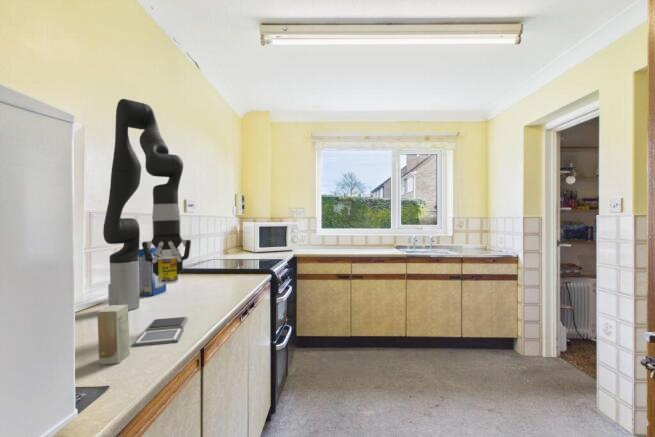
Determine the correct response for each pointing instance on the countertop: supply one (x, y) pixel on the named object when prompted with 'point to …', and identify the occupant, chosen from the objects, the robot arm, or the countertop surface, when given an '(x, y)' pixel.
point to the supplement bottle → (167, 267)
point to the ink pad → (167, 324)
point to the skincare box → (113, 334)
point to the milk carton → (148, 276)
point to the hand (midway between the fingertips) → (168, 274)
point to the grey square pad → (158, 337)
